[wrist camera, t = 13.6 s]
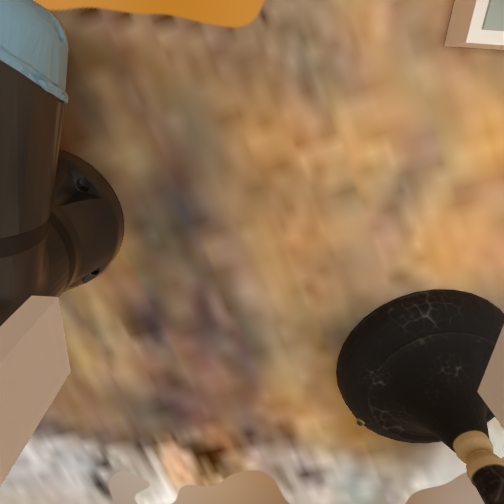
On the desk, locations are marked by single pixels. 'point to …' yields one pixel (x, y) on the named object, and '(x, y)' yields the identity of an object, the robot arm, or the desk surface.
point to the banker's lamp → (428, 377)
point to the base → (476, 24)
